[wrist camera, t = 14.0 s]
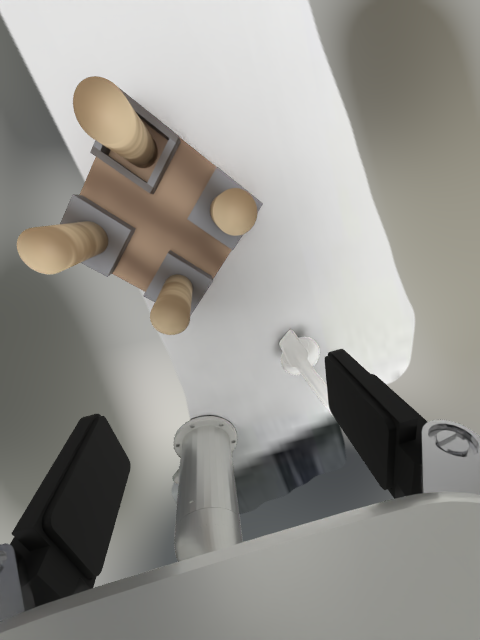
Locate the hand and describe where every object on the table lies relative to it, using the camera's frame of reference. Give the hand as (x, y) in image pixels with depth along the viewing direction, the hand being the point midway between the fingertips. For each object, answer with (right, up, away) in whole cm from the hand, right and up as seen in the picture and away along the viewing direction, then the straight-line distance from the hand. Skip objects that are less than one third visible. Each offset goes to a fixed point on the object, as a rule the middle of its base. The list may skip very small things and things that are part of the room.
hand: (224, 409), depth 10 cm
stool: (-9, +17, +23) cm, 30 cm away
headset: (+14, -4, +37) cm, 40 cm away
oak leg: (-10, +23, +17) cm, 30 cm away
